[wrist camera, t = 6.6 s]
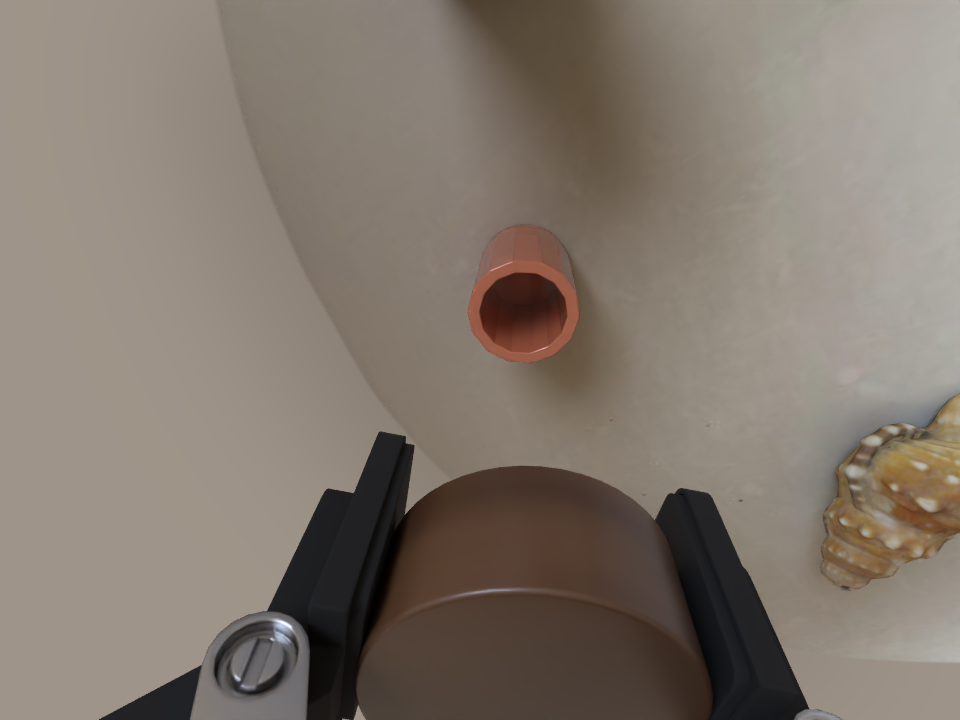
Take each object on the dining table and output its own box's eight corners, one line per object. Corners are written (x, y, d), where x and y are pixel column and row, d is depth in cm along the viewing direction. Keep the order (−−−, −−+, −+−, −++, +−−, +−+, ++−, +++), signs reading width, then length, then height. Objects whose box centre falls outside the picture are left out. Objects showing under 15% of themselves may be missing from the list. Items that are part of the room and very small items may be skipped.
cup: (461, 273, 28) (446, 319, 22) (521, 204, 26) (519, 237, 20) (526, 326, 29) (526, 382, 24) (588, 264, 27) (603, 309, 22)
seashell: (896, 479, 35) (906, 630, 30) (787, 423, 35) (776, 563, 30) (1054, 422, 28) (1108, 611, 22) (914, 351, 28) (931, 520, 22)
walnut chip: (336, 573, 10) (287, 703, 8) (517, 408, 8) (514, 527, 6) (534, 688, 11) (537, 825, 9) (734, 574, 9) (795, 718, 7)
